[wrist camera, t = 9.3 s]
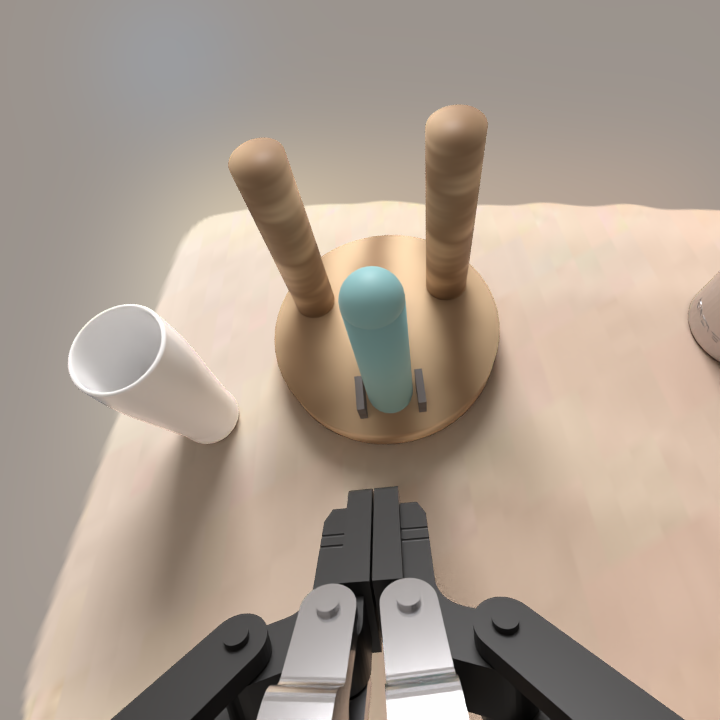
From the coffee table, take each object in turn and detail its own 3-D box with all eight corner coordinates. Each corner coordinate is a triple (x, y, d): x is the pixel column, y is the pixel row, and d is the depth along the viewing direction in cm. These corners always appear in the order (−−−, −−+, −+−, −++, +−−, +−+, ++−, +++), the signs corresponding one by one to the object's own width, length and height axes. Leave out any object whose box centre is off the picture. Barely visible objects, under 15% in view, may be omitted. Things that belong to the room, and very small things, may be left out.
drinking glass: (258, 390, 44) (182, 310, 30) (233, 461, 41) (138, 407, 28) (195, 377, 45) (95, 295, 32) (167, 444, 43) (45, 386, 29)
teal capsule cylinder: (410, 375, 39) (399, 247, 24) (416, 416, 37) (407, 306, 22) (368, 381, 39) (331, 257, 24) (371, 421, 37) (334, 315, 23)
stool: (473, 241, 47) (501, 45, 30) (516, 430, 39) (590, 315, 21) (283, 268, 49) (202, 98, 31) (284, 455, 41) (174, 368, 23)
